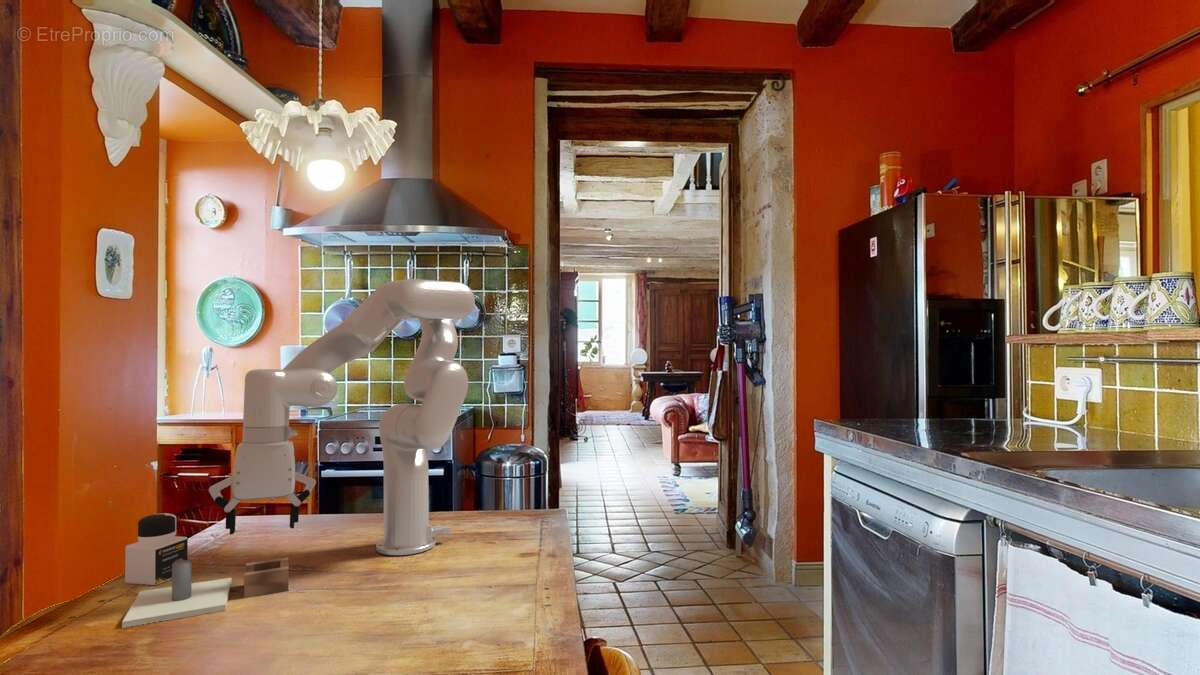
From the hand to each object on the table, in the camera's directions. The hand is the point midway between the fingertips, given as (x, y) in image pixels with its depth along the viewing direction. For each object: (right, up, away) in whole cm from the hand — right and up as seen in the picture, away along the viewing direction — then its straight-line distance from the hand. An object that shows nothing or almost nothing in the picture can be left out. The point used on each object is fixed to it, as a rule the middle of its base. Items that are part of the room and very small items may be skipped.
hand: (262, 529), depth 113 cm
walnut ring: (+1, -11, 0) cm, 11 cm away
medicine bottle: (-24, -11, +6) cm, 27 cm away
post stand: (-10, -11, -6) cm, 16 cm away
